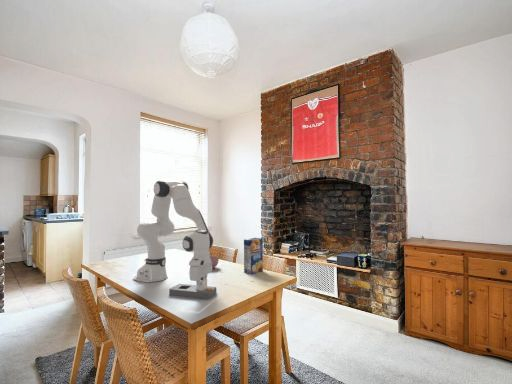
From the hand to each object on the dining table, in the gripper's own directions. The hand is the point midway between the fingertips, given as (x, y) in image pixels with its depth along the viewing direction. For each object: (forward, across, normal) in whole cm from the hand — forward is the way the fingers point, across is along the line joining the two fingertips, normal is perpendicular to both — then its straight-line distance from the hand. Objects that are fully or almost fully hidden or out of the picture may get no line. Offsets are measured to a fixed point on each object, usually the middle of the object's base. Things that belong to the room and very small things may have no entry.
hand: (201, 284), depth 153 cm
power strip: (+7, 0, -5) cm, 9 cm away
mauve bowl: (+7, -56, -21) cm, 60 cm away
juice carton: (+7, -55, +14) cm, 57 cm away
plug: (+6, 0, 0) cm, 6 cm away
